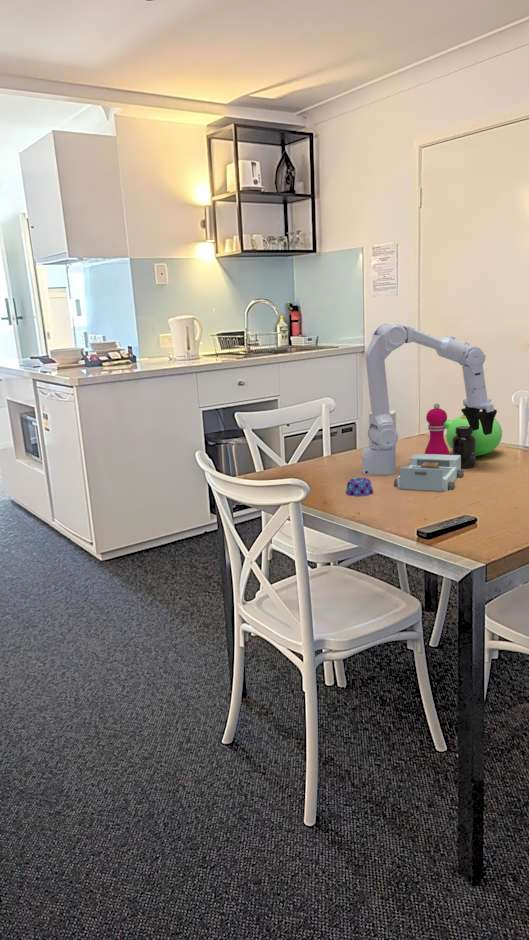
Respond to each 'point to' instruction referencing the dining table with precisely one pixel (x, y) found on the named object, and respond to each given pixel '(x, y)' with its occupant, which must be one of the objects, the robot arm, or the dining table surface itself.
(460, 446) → the supplement bottle
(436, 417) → the pepper mill
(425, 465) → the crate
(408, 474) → the panel
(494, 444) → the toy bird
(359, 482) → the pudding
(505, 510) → the dining table surface
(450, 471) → the ute bed
